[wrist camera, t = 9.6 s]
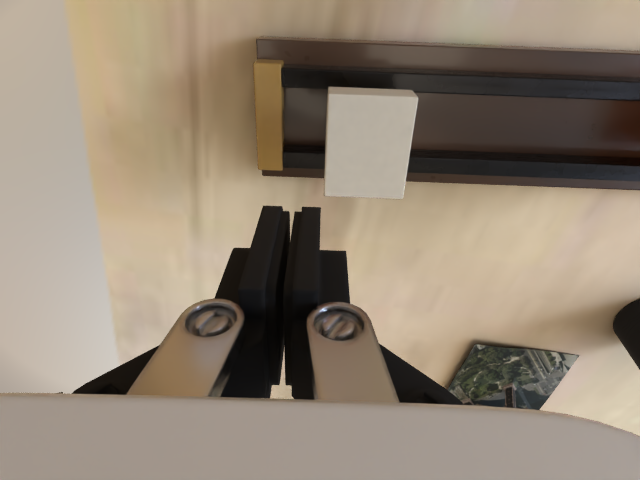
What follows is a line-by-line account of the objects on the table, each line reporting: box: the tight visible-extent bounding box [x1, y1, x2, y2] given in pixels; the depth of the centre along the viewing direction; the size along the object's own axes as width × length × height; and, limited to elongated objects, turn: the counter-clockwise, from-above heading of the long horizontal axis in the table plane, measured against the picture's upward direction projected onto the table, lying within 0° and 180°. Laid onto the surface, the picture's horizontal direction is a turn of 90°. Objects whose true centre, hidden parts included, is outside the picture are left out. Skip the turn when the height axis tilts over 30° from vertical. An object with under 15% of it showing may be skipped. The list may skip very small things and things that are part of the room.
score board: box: [256, 36, 640, 190], centre depth 25 cm, size 8×30×2 cm, turn 88°
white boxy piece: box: [324, 87, 418, 199], centre depth 22 cm, size 5×4×6 cm
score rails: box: [253, 59, 640, 181], centre depth 24 cm, size 6×30×2 cm, turn 88°
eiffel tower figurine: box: [448, 344, 579, 410], centre depth 34 cm, size 15×10×13 cm
